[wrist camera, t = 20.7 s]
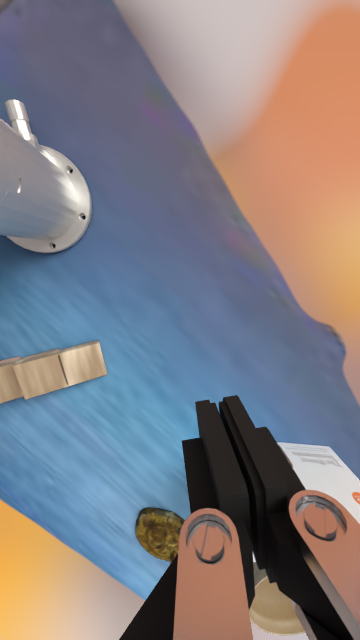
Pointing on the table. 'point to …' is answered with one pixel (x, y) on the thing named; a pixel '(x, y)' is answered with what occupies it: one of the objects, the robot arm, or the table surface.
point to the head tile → (59, 369)
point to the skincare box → (324, 474)
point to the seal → (159, 532)
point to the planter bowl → (272, 608)
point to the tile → (12, 379)
